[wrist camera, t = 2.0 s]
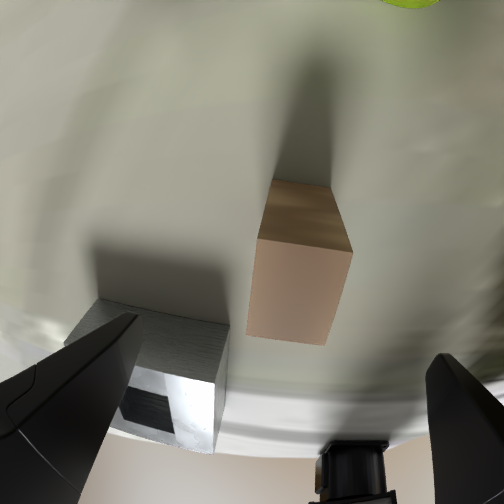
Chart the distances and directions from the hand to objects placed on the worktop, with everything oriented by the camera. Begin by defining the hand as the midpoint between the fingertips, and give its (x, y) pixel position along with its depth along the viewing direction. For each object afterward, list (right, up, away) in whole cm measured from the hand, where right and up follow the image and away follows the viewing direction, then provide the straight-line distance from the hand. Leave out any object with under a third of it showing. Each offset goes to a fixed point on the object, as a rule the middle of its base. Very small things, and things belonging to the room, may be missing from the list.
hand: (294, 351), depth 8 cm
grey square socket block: (-8, -6, +15) cm, 18 cm away
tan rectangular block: (+1, +4, +8) cm, 9 cm away
